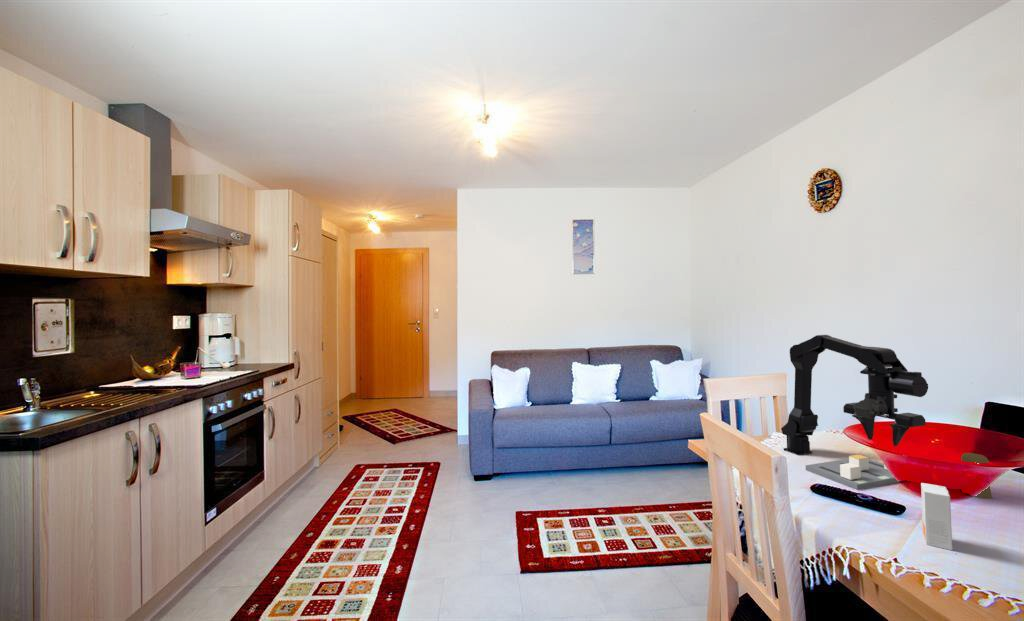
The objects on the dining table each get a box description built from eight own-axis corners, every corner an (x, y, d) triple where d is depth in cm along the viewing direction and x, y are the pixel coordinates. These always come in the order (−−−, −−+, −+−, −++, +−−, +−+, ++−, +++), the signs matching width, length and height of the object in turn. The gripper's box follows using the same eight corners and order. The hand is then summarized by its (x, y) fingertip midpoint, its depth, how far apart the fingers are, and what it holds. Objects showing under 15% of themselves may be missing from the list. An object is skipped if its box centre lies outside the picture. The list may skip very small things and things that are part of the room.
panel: (805, 469, 137) (805, 465, 137) (860, 460, 143) (860, 456, 143) (857, 489, 121) (856, 484, 121) (916, 478, 127) (916, 473, 127)
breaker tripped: (849, 467, 133) (848, 456, 133) (858, 466, 134) (858, 454, 134) (859, 471, 130) (858, 459, 130) (868, 469, 131) (868, 457, 131)
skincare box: (922, 533, 98) (920, 482, 98) (948, 539, 95) (946, 486, 95) (925, 544, 93) (923, 491, 93) (953, 551, 91) (951, 496, 91)
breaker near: (840, 476, 127) (840, 464, 127) (850, 474, 128) (850, 462, 128) (850, 479, 124) (850, 468, 124) (860, 478, 125) (860, 466, 125)
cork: (995, 500, 112) (994, 459, 112) (962, 495, 116) (961, 455, 116) (988, 492, 117) (987, 453, 117) (957, 487, 121) (956, 449, 121)
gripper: (829, 387, 132) (830, 436, 132) (897, 399, 114) (898, 456, 114) (855, 384, 135) (857, 433, 135) (926, 395, 117) (927, 451, 117)
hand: (882, 442), depth 125 cm, fingers open, 6 cm apart
